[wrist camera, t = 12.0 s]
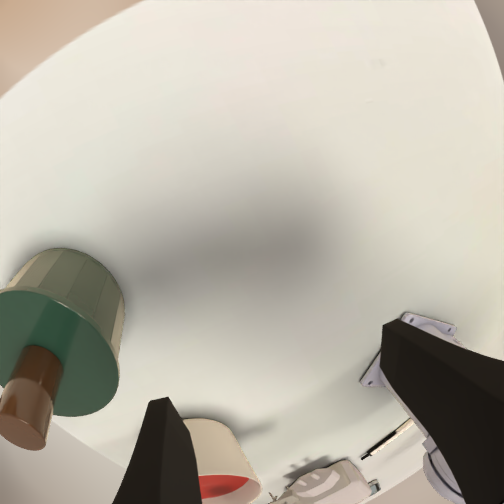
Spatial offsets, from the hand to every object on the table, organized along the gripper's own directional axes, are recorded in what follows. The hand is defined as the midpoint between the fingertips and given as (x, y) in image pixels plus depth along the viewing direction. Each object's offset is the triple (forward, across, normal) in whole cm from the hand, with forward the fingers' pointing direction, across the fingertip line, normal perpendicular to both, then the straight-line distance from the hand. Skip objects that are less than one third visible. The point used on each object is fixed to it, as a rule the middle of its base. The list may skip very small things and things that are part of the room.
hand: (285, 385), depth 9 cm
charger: (+11, -4, +34) cm, 36 cm away
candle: (+10, +7, +16) cm, 20 cm away
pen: (+10, -19, +29) cm, 36 cm away
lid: (+5, +10, 0) cm, 12 cm away
